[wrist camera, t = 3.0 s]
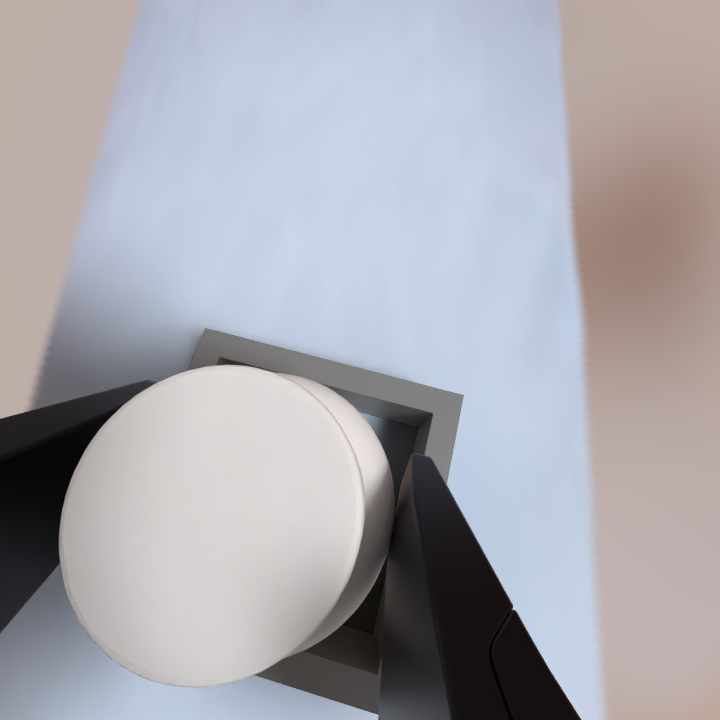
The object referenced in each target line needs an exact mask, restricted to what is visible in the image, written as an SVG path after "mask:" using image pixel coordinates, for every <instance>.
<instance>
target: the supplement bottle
mask: <svg viewBox="0 0 720 720" xmlns="http://www.w3.org/2000/svg"><path fill="white" fill-rule="evenodd" d="M394 518H395V494H394V485H393V479H392V474H391V470H390V466H389V463H388V460H387V457H386V455H385V452H384V450H383V448H382V445H381V443H380V441H379V439H378V438H377V436H376V434H375V432H374V431H373V429H372V428H371V426H370V425H369V423H368V422H367V421H366V419H365V418H364V417H363V416H362V415H361V413H360V412H359V411H358V410H357V409H356V408H355V407H354V406H353V405H351V404H350V403H349V402H348V401H347V400H346V399H344V398H343V397H342V396H340V395H339V394H337V393H336V392H334V391H333V390H331V389H329V388H328V387H326V386H324V385H321V384H319V383H317V382H315V381H312V380H309V379H306V378H303V377H299V376H295V375H291V374H284V373H274V372H271V371H267V370H263V369H259V368H255V367H249V366H241V365H214V366H207V367H202V368H197V369H193V370H188V371H185V372H182V373H179V374H176V375H173V376H171V377H168V378H166V379H164V380H162V381H160V382H158V383H156V384H154V385H152V386H150V387H149V388H147V389H145V390H144V391H142V392H140V393H139V394H137V395H135V396H134V397H133V398H132V399H131V400H130V401H128V402H127V403H126V404H124V405H123V406H122V407H121V408H120V409H119V410H118V411H117V412H116V413H115V414H114V415H113V416H111V417H110V418H109V420H108V421H107V422H106V423H105V424H104V425H103V426H102V427H101V428H100V430H99V431H98V432H97V434H96V435H95V437H94V438H93V439H92V441H91V442H90V444H89V445H88V447H87V448H86V450H85V451H84V453H83V455H82V457H81V459H80V461H79V463H78V465H77V467H76V469H75V471H74V473H73V476H72V478H71V481H70V484H69V487H68V490H67V493H66V496H65V500H64V505H63V509H62V514H61V522H60V531H59V557H60V565H61V571H62V577H63V581H64V586H65V590H66V593H67V597H68V599H69V601H70V604H71V606H72V608H73V610H74V612H75V614H76V616H77V618H78V620H79V622H80V624H81V625H82V627H83V628H84V630H85V631H86V633H87V634H88V635H89V636H90V638H91V639H92V640H93V641H94V642H95V644H96V645H97V646H98V647H99V648H100V649H101V650H103V651H104V652H105V653H106V654H107V655H108V656H109V657H110V658H111V659H113V660H114V661H116V662H117V663H118V664H120V665H121V666H122V667H124V668H126V669H128V670H129V671H131V672H133V673H135V674H136V675H138V676H141V677H143V678H146V679H148V680H152V681H155V682H159V683H162V684H167V685H173V686H181V687H211V686H218V685H225V684H228V683H232V682H235V681H239V680H242V679H245V678H248V677H250V676H253V675H255V674H257V673H260V672H262V671H263V670H265V669H267V668H269V667H271V666H272V665H274V664H275V663H277V662H279V661H280V660H282V659H283V658H286V657H289V656H291V655H294V654H296V653H299V652H301V651H304V650H306V649H308V648H310V647H311V646H313V645H315V644H317V643H318V642H320V641H321V640H323V639H325V638H326V637H328V636H329V635H330V634H331V633H333V632H334V631H335V630H337V629H338V628H339V627H340V626H341V625H342V624H343V623H344V622H345V621H346V620H347V619H348V618H349V617H350V616H351V615H352V614H353V613H354V612H355V611H356V610H357V609H358V607H359V606H360V605H361V603H362V602H363V600H364V599H365V598H366V596H367V595H368V593H369V592H370V590H371V588H372V587H373V585H374V583H375V581H376V579H377V577H378V575H379V573H380V571H381V568H382V566H383V564H384V561H385V559H386V556H387V552H388V549H389V546H390V542H391V538H392V533H393V528H394Z"/></svg>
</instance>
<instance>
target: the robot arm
mask: <svg viewBox="0 0 720 720" xmlns="http://www.w3.org/2000/svg"><path fill="white" fill-rule="evenodd" d="M156 383H158V382H154V381H150V380H146V381H142V382H138V383H134V384H130V385H127V386H123V387H119V388H115V389H111V390H108V391H104V392H100V393H96V394H93V395H89V396H85V397H81V398H77V399H74V400H70V401H66V402H62V403H58V404H55V405H51V406H47V407H43V408H40V409H36V410H32V411H28V412H24V413H21V414H17V415H13V416H9V417H6V418H2V419H0V633H1V632H2V631H3V629H4V628H5V627H6V626H7V625H8V624H9V622H10V621H11V620H12V619H13V618H14V616H15V615H16V614H17V613H18V612H19V611H20V609H21V608H22V607H23V606H24V605H25V603H26V602H27V601H28V600H29V599H30V598H31V596H32V595H33V594H34V593H35V592H36V590H37V589H38V588H39V587H40V586H41V585H42V583H43V582H44V581H45V580H46V579H47V577H48V576H49V575H50V574H51V573H52V572H53V570H54V569H55V568H56V567H57V566H58V564H59V563H60V557H59V531H60V522H61V514H62V509H63V505H64V500H65V496H66V493H67V490H68V487H69V484H70V481H71V478H72V476H73V473H74V471H75V469H76V467H77V465H78V463H79V461H80V459H81V457H82V455H83V453H84V451H85V450H86V448H87V447H88V445H89V444H90V442H91V441H92V439H93V438H94V437H95V435H96V434H97V432H98V431H99V430H100V428H101V427H102V426H103V425H104V424H105V423H106V422H107V421H108V420H109V418H110V417H111V416H113V415H114V414H115V413H116V412H117V411H118V410H119V409H120V408H121V407H122V406H123V405H124V404H126V403H127V402H128V401H130V400H131V399H132V398H133V397H134V396H135V395H137V394H139V393H140V392H142V391H144V390H145V389H147V388H149V387H150V386H152V385H154V384H156ZM512 609H513V605H512V603H511V601H510V599H509V597H508V595H507V594H506V592H505V590H504V588H503V586H502V585H501V583H500V581H499V579H498V577H497V575H496V574H495V572H494V570H493V568H492V566H491V565H490V563H489V561H488V559H487V557H486V555H485V554H484V552H483V550H482V548H481V546H480V545H479V543H478V541H477V539H476V537H475V535H474V534H473V532H472V530H471V528H470V526H469V524H468V523H467V521H466V519H465V517H464V515H463V514H462V512H461V510H460V508H459V506H458V504H457V503H456V501H455V499H454V497H453V495H452V494H451V492H450V490H449V488H448V486H447V484H446V483H445V481H444V479H443V477H442V475H441V474H440V472H439V470H438V468H437V466H436V464H435V463H434V461H433V459H432V458H431V457H429V456H425V455H422V454H418V453H412V454H411V456H410V459H409V461H408V465H407V468H406V471H405V474H404V477H403V480H402V483H401V487H400V491H399V497H398V502H397V508H396V514H395V519H394V528H393V533H392V538H391V542H390V547H389V554H388V562H387V574H386V592H385V610H384V628H383V646H382V663H381V681H380V699H379V717H378V720H581V718H580V717H579V715H578V714H577V712H576V711H575V709H574V708H573V706H572V704H571V703H570V701H569V700H568V698H567V696H566V695H565V693H564V692H563V690H562V689H561V687H560V685H559V684H558V682H557V681H556V679H555V677H554V676H553V674H552V673H551V671H550V670H549V668H548V666H547V664H546V663H545V661H544V659H543V657H542V656H541V654H540V652H539V651H538V649H537V647H536V645H535V644H534V642H533V640H532V638H531V637H530V635H529V633H528V631H527V630H526V628H525V626H524V624H523V622H522V621H521V619H520V617H519V615H518V613H517V612H516V611H515V610H512Z"/></svg>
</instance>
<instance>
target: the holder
mask: <svg viewBox="0 0 720 720" xmlns="http://www.w3.org/2000/svg"><path fill="white" fill-rule="evenodd" d="M214 365H241V366H249V367H255V368H259V369H263V370H267V371H271V372H274V373H284V374H291V375H295V376H299V377H303V378H306V379H309V380H312V381H315V382H317V383H319V384H321V385H324V386H326V387H328V388H329V389H331V390H333V391H334V392H336V393H337V394H339V395H340V396H342V397H343V398H344V399H346V400H347V401H348V402H349V403H350V404H351V405H353V406H354V407H355V408H356V409H357V410H358V411H359V412H363V413H366V414H370V415H374V416H378V417H381V418H385V419H389V420H393V421H396V422H400V423H404V424H408V425H411V426H415V427H419V428H418V433H417V437H416V442H415V446H414V451H413V453H418V454H422V455H425V456H429V457H431V458H432V459H433V461H434V463H435V464H436V466H437V468H438V470H439V472H440V474H441V475H442V477H443V479H444V481H445V483H446V484H447V480H448V474H449V469H450V464H451V459H452V454H453V448H454V443H455V438H456V433H457V427H458V422H459V417H460V412H461V407H462V401H463V396H464V395H461V394H457V393H453V392H449V391H445V390H441V389H437V388H434V387H430V386H426V385H422V384H418V383H414V382H410V381H407V380H403V379H399V378H395V377H391V376H387V375H384V374H380V373H376V372H372V371H368V370H364V369H360V368H357V367H353V366H349V365H345V364H341V363H337V362H334V361H330V360H326V359H322V358H318V357H314V356H310V355H307V354H303V353H299V352H295V351H291V350H287V349H283V348H280V347H276V346H272V345H268V344H264V343H260V342H257V341H253V340H249V339H245V338H241V337H237V336H233V335H230V334H226V333H222V332H218V331H214V330H210V329H206V328H205V330H204V333H203V335H202V337H201V340H200V342H199V345H198V347H197V349H196V352H195V354H194V357H193V359H192V361H191V364H190V366H189V369H188V370H193V369H197V368H202V367H207V366H214ZM386 574H387V573H386ZM385 592H386V577H385V582H384V586H383V591H382V595H381V600H380V604H379V609H378V613H377V618H376V623H375V627H374V632H373V635H372V634H369V633H365V632H362V631H359V630H356V629H352V628H349V627H346V626H343V625H341V626H340V627H339V628H338V629H337V630H335V631H334V632H333V633H331V634H330V635H329V636H328V637H326V638H325V639H323V640H321V641H320V642H318V643H317V644H315V645H313V646H311V647H310V648H308V649H306V650H304V651H301V652H299V653H296V654H294V655H291V656H289V657H286V658H283V659H282V660H280V661H279V662H277V663H275V664H274V665H272V666H271V667H269V668H267V669H265V670H263V671H262V672H260V673H257V674H255V675H256V676H259V677H262V678H265V679H268V680H272V681H275V682H278V683H281V684H284V685H287V686H290V687H293V688H297V689H300V690H303V691H306V692H309V693H312V694H315V695H319V696H322V697H325V698H328V699H331V700H334V701H337V702H340V703H344V704H347V705H350V706H353V707H356V708H359V709H362V710H365V711H369V712H372V713H375V714H378V715H379V699H380V681H381V663H382V646H383V628H384V610H385Z"/></svg>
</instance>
